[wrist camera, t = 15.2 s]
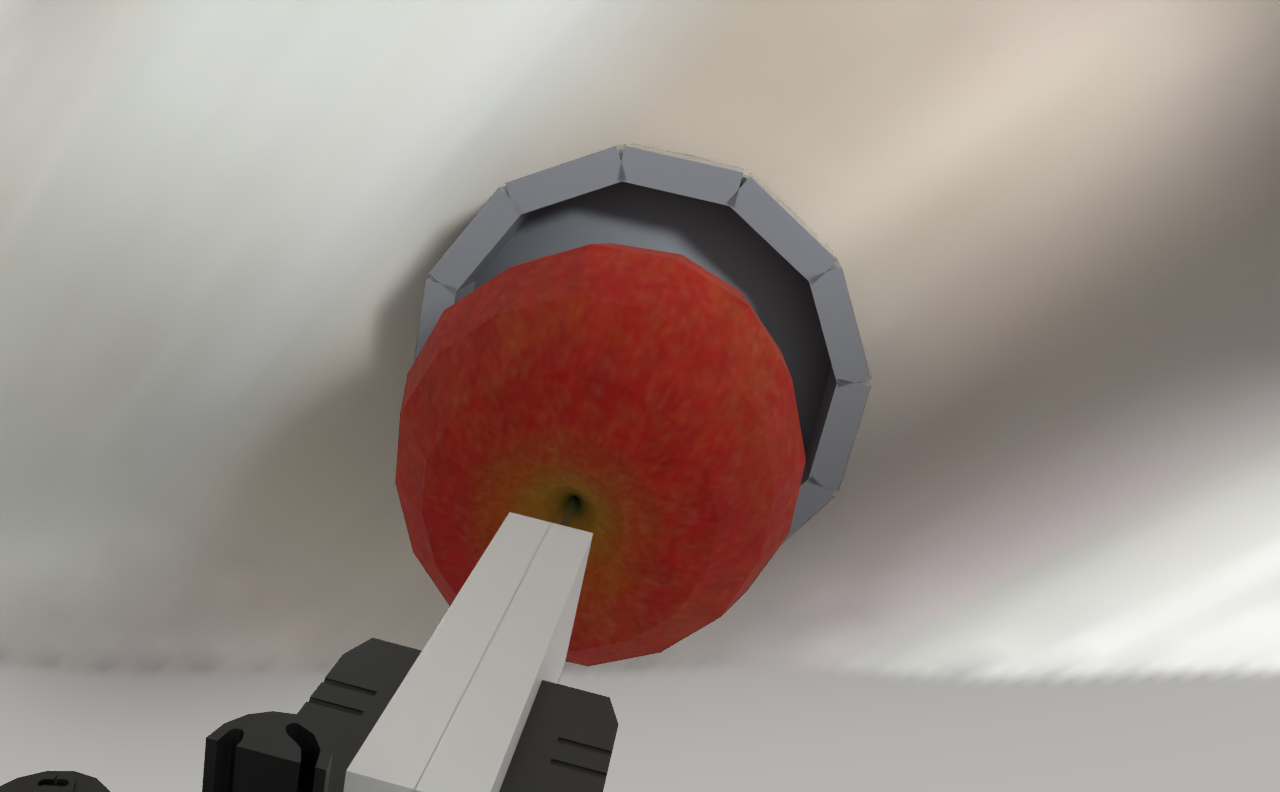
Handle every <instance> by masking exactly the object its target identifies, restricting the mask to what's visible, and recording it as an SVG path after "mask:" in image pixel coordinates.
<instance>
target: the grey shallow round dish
mask: <svg viewBox="0 0 1280 792" xmlns="http://www.w3.org/2000/svg"><path fill="white" fill-rule="evenodd" d="M743 171H744V169H742V168H737V167H733V166H729V165H724V164H720V163H716V162H712V161H709V160H705V159H702V158H699V157H695V156H692V155H687V154H680V153H674V152H668V151H663V150H658V149H654V148H650V147H645V146H641V145H636V144H630V145H626V144H624V145H619V146H614V147H612V148H609V149H606V150H603V151H600V152H597V153H594V154H591V155H588V156H585V157H582V158H579V159H576V160H573V161H570V162H567V163H564V164H561V165H558V166H555V167H552V168H549V169H546V170H543V171H540V172H537V173H534V174H531V175H528V176H525V177H522V178H519V179H516V180H513V181H510V182H507V183H505V184H506V186H503V187H499V188H498V189H497V190H496V192H495V193H494V194H493V195H492V197H491V198H490V199H489V200H488V201H487V203H486V204H485V205H484V206H483V207H482V209H481V210H480V211H479V212H478V214H477V215H476V216H475V217H474V218H473V220H472V221H471V222H470V223H469V225H468V226H467V227H466V228H465V229H464V231H463V232H462V233H461V234H460V235H459V237H458V238H457V239H456V240H455V242H454V243H453V244H452V245H451V246H450V248H449V249H448V250H447V251H446V253H445V254H444V255H443V256H442V257H441V259H440V260H439V261H438V262H437V263H436V265H435V266H434V267H433V268H432V270H431V271H430V272H429V274H430V275H431V276H432V277H431V278H429V279H427V280H426V281H425V288H424V295H423V302H422V309H421V316H420V324H419V331H418V338H417V345H416V352H415V360H416V358H417V357H418V355H419V353H420V351H421V350H422V348H423V346H424V344H425V343H426V341H427V339H428V337H429V336H430V334H431V332H432V330H433V329H434V327H435V325H436V323H437V322H438V320H439V318H440V316H441V315H442V313H443V311H444V310H445V309H447V308H448V307H450V306H451V305H453V304H454V303H456V302H457V301H459V300H460V299H462V298H464V297H465V296H467V295H468V294H470V293H471V292H473V291H474V290H476V289H477V288H479V287H480V286H482V285H483V284H485V283H486V282H488V281H489V280H491V279H492V278H494V277H495V276H497V275H498V274H500V273H502V272H503V271H505V270H506V269H508V268H510V267H513V266H516V265H519V264H522V263H525V262H528V261H531V260H534V259H537V258H540V257H543V256H548V255H554V254H558V253H561V252H565V251H568V250H571V249H575V248H578V247H582V246H585V245H589V244H603V243H614V244H620V245H626V246H633V247H639V248H645V249H651V250H658V251H664V252H670V253H676V254H682V255H684V256H685V257H687V258H689V259H690V260H692V261H693V262H695V263H696V264H698V265H700V266H701V267H703V268H704V269H706V270H707V271H709V272H711V273H712V274H714V275H715V276H717V277H719V278H720V279H722V280H723V281H725V282H726V283H728V284H730V285H731V286H733V287H734V288H736V289H737V290H739V291H741V292H742V294H743V295H744V297H745V298H746V300H747V301H748V303H749V304H750V306H751V307H752V309H753V310H754V312H755V313H756V315H757V316H758V318H759V319H760V321H761V322H762V323H763V325H764V326H765V328H766V329H767V331H768V332H769V334H770V335H771V337H772V338H773V340H774V341H775V343H776V344H777V346H778V347H779V349H780V350H781V353H782V355H783V358H784V360H785V363H786V365H787V368H788V370H789V373H790V375H791V378H792V382H793V388H794V393H795V399H796V405H797V411H798V416H799V422H800V428H801V434H802V439H803V445H804V451H805V457H806V463H805V467H804V472H803V476H802V480H801V485H800V489H799V494H798V498H797V502H796V507H795V511H794V516H793V520H792V524H791V529H790V533H789V535H788V536H787V537H786V539H785V540H784V541H783V542H785V541H786V540H787V539H788V538H789V537H790V536H791V535H792V534H794V533H795V532H796V531H797V530H798V529H799V528H800V527H801V526H802V525H804V524H805V523H806V522H807V521H808V520H809V519H810V518H811V517H813V516H814V515H815V514H816V513H817V512H818V511H819V510H820V509H821V508H823V507H824V506H825V505H826V504H827V503H828V502H829V501H830V500H832V499H833V498H834V497H835V496H834V491H833V489H834V490H838V491H839V488H840V484H841V481H842V478H843V475H844V472H845V468H846V465H847V462H848V459H849V455H850V452H851V449H852V446H853V442H854V439H855V436H856V433H857V429H858V426H859V423H860V420H861V416H862V413H863V410H864V407H865V404H866V400H867V397H868V394H869V391H870V387H871V386H870V384H869V381H868V379H871V377H870V373H869V369H868V366H867V362H866V358H865V354H864V350H863V347H862V343H861V339H860V335H859V331H858V328H857V324H856V320H855V316H854V312H853V308H852V305H851V301H850V297H849V293H848V289H847V286H846V282H845V278H844V274H843V270H842V267H841V265H840V263H839V262H838V260H837V258H836V257H835V255H834V253H833V251H832V250H831V249H830V248H829V247H828V246H827V245H826V244H825V243H824V242H822V241H821V240H820V239H819V238H818V237H817V236H816V235H815V234H814V233H813V232H812V231H811V230H810V229H809V228H808V227H807V226H806V225H805V224H804V223H803V222H802V221H801V220H800V219H799V218H798V217H797V215H796V214H795V213H794V212H793V211H792V210H791V209H790V208H789V207H788V206H786V205H785V204H784V203H783V202H782V201H781V200H779V199H778V198H777V197H776V196H775V195H774V194H773V193H771V192H770V191H769V190H768V189H767V188H766V187H765V186H764V185H763V184H762V183H761V182H760V181H759V180H758V179H757V178H756V177H755V176H754V175H753V174H752V173H750V174H749V175H748V176H747V177H746V176H745V175H743ZM415 360H414V362H415Z"/></svg>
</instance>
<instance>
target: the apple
mask: <svg viewBox="0 0 1280 792" xmlns="http://www.w3.org/2000/svg"><path fill="white" fill-rule="evenodd" d="M805 463H806V457H805V451H804V445H803V439H802V434H801V428H800V422H799V416H798V411H797V405H796V399H795V393H794V388H793V382H792V378H791V375H790V373H789V370H788V368H787V365H786V363H785V360H784V358H783V355H782V353H781V350H780V349H779V347H778V346H777V344H776V343H775V341H774V340H773V338H772V337H771V335H770V334H769V332H768V331H767V329H766V328H765V326H764V325H763V323H762V322H761V321H760V319H759V318H758V316H757V315H756V313H755V312H754V310H753V309H752V307H751V306H750V304H749V303H748V301H747V300H746V298H745V297H744V295H743V294H742V292H741V291H739V290H737V289H736V288H734V287H733V286H731V285H730V284H728V283H726V282H725V281H723V280H722V279H720V278H719V277H717V276H715V275H714V274H712V273H711V272H709V271H707V270H706V269H704V268H703V267H701V266H700V265H698V264H696V263H695V262H693V261H692V260H690V259H689V258H687V257H685V256H684V255H682V254H676V253H670V252H664V251H658V250H651V249H645V248H639V247H633V246H626V245H620V244H614V243H603V244H589V245H585V246H582V247H578V248H575V249H571V250H568V251H565V252H561V253H558V254H554V255H548V256H543V257H540V258H537V259H534V260H531V261H528V262H525V263H522V264H519V265H516V266H513V267H510V268H508V269H506V270H505V271H503V272H502V273H500V274H498V275H497V276H495V277H494V278H492V279H491V280H489V281H488V282H486V283H485V284H483V285H482V286H480V287H479V288H477V289H476V290H474V291H473V292H471V293H470V294H468V295H467V296H465V297H464V298H462V299H460V300H459V301H457V302H456V303H454V304H453V305H451V306H450V307H448V308H447V309H445V310H444V311H443V313H442V315H441V316H440V318H439V320H438V322H437V323H436V325H435V327H434V329H433V330H432V332H431V334H430V336H429V337H428V339H427V341H426V343H425V344H424V346H423V348H422V350H421V351H420V353H419V355H418V357H417V358H416V360H415V362H414V364H413V365H412V367H411V369H410V371H409V372H408V375H407V381H406V386H405V391H404V397H403V402H402V407H401V413H400V426H399V441H398V455H397V469H396V486H397V490H398V494H399V498H400V502H401V506H402V510H403V514H404V517H405V521H406V525H407V529H408V533H409V537H410V541H411V545H412V549H413V552H414V554H415V555H416V557H417V558H418V560H419V561H420V563H421V564H422V566H423V567H424V569H425V570H426V572H427V573H428V575H429V576H430V577H431V579H432V580H433V582H434V583H435V585H436V586H437V588H438V589H439V591H440V592H441V594H442V595H443V597H444V598H445V600H446V601H447V603H448V604H449V606H451V604H452V603H453V601H454V599H455V598H456V596H457V595H458V593H459V591H460V590H461V588H462V587H463V585H464V584H465V582H466V580H467V579H468V577H469V576H470V574H471V573H472V571H473V569H474V568H475V566H476V565H477V563H478V561H479V560H480V558H481V557H482V555H483V554H484V552H485V550H486V549H487V547H488V546H489V544H490V542H491V541H492V539H493V538H494V536H495V535H496V533H497V531H498V530H499V528H500V527H501V525H502V523H503V522H504V520H505V519H506V517H507V516H508V514H509V512H511V513H515V514H519V515H523V516H527V517H531V518H535V519H539V520H543V521H547V522H551V523H555V524H559V525H563V526H567V527H571V528H575V529H579V530H583V531H587V532H591V533H593V536H592V541H591V546H590V550H589V555H588V559H587V564H586V569H585V573H584V578H583V582H582V587H581V591H580V596H579V601H578V605H577V610H576V614H575V619H574V624H573V628H572V633H571V637H570V642H569V646H568V651H567V656H566V660H565V661H567V662H571V663H576V664H580V665H585V666H592V665H597V664H602V663H607V662H613V661H618V660H623V659H628V658H634V657H639V656H644V655H649V654H654V653H660V652H662V651H663V650H665V649H667V648H669V647H670V646H672V645H674V644H675V643H677V642H679V641H680V640H682V639H684V638H686V637H687V636H689V635H691V634H692V633H694V632H696V631H697V630H699V629H701V628H702V627H704V626H706V625H708V624H709V623H711V622H713V621H714V620H716V619H718V618H719V617H721V616H722V615H723V614H724V613H725V612H726V611H727V610H728V609H729V608H730V607H731V606H732V605H733V604H734V603H735V602H736V601H737V600H738V599H739V598H740V597H741V596H742V595H743V594H744V593H745V592H746V591H747V590H748V589H749V587H750V586H751V585H752V583H753V582H754V581H755V579H756V578H757V576H758V575H759V574H760V572H761V571H762V570H763V568H764V567H765V566H766V564H767V563H768V562H769V560H770V559H771V558H772V556H773V555H774V553H775V552H776V551H777V549H778V548H779V547H780V545H781V544H782V543H783V541H784V540H785V539H786V537H787V536H788V535H789V533H790V529H791V524H792V520H793V516H794V511H795V507H796V502H797V498H798V494H799V489H800V485H801V480H802V476H803V472H804V467H805Z"/></svg>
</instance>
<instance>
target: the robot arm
mask: <svg viewBox="0 0 1280 792" xmlns="http://www.w3.org/2000/svg"><path fill="white" fill-rule="evenodd" d="M592 536H593V533H591V532H587V531H583V530H579V529H575V528H571V527H567V526H563V525H559V524H555V523H551V522H547V521H543V520H539V519H535V518H531V517H527V516H523V515H519V514H515V513H511V512H509V514H508V516H507V517H506V519H505V520H504V522H503V523H502V525H501V527H500V528H499V530H498V531H497V533H496V535H495V536H494V538H493V539H492V541H491V542H490V544H489V546H488V547H487V549H486V550H485V552H484V554H483V555H482V557H481V558H480V560H479V561H478V563H477V565H476V566H475V568H474V569H473V571H472V573H471V574H470V576H469V577H468V579H467V580H466V582H465V584H464V585H463V587H462V588H461V590H460V591H459V593H458V595H457V596H456V598H455V599H454V601H453V603H452V604H451V606H450V607H449V609H448V610H447V612H446V614H445V615H444V617H443V618H442V620H441V622H440V623H439V625H438V626H437V628H436V629H435V631H434V633H433V634H432V636H431V637H430V639H429V641H428V642H427V644H426V645H425V647H424V648H423V650H422V651H421V650H417V649H413V648H409V647H405V646H401V645H398V644H394V643H390V642H386V641H382V640H379V639H375V638H372V639H370V640H368V641H366V642H364V643H363V644H361V645H359V646H357V647H356V648H354V649H352V650H350V651H349V652H347V653H345V654H343V655H342V657H341V658H340V659H339V661H338V662H337V663H336V664H335V666H334V667H333V668H332V670H331V671H330V672H329V673H328V675H327V676H326V677H325V680H324V682H323V683H321V684H320V685H319V686H318V688H317V689H316V690H315V692H314V693H313V694H312V695H311V697H310V700H309V702H306V703H305V704H304V706H303V707H302V708H301V710H300V711H299V712H298V713H297V714H289V713H282V712H273V711H272V712H264V713H256V714H248V715H245V716H243V717H240V718H238V719H235V720H232V721H230V722H227V723H225V724H223V725H222V726H221V727H219V728H218V729H217V730H216V731H214V732H213V733H212V734H211V735H209V736H208V737H207V738H206V749H205V761H204V777H203V789H202V792H603V788H604V784H605V779H606V775H607V771H608V767H609V762H610V758H611V754H612V749H613V745H614V741H615V736H616V732H617V728H618V722H617V719H616V716H615V713H614V710H613V707H612V704H611V701H610V698H609V697H606V696H602V695H598V694H594V693H590V692H586V691H583V690H579V689H575V688H571V687H567V686H564V685H560V684H558V682H559V679H560V676H561V673H562V671H563V668H564V665H565V660H566V656H567V651H568V646H569V642H570V637H571V633H572V628H573V624H574V619H575V614H576V610H577V605H578V601H579V596H580V591H581V587H582V582H583V578H584V573H585V569H586V564H587V559H588V555H589V550H590V546H591V541H592ZM0 792H110V791H109V790H108V789H107V788H106V787H105V786H104V785H103V784H102V783H101V782H99V780H97V779H96V778H94V777H91V776H87V775H84V774H81V773H78V772H74V771H46V772H41V773H37V774H33V775H28V776H25V777H20V778H17V779H14V780H12V781H11V782H8V783H6V784H4V785H2V786H0Z"/></svg>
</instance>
